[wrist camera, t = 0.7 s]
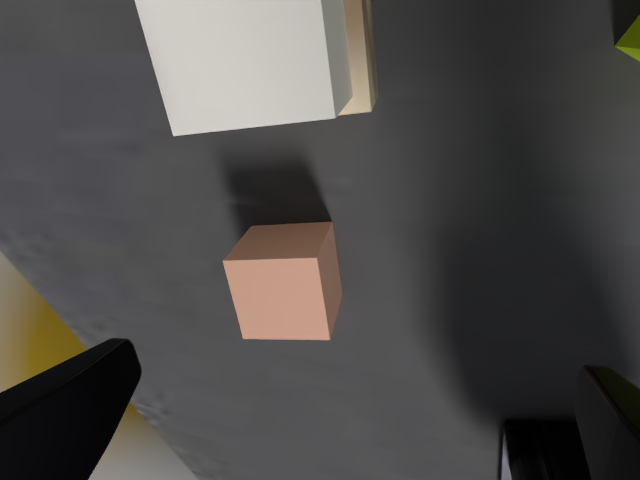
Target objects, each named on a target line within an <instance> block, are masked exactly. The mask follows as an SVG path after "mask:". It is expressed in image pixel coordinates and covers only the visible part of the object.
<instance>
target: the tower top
mask: <svg viewBox="0 0 640 480" xmlns="http://www.w3.org/2000/svg"><path fill="white" fill-rule="evenodd" d="M135 3H136V7H137V10H138V14H139V17H140V21H141V24H142V28H143V31H144V35H145V38H146V42H147V46H148V49H149V53H150V56H151V60H152V63H153V67H154V70H155V74H156V77H157V81H158V84H159V88H160V91H161V95H162V98H163V102H164V105H165V109H166V112H167V116H168V119H169V123H170V126H171V130H172V133H173V136H179V135H188V134H197V133H206V132H215V131H224V130H233V129H242V128H251V127H260V126H269V125H278V124H288V123H297V122H306V121H315V120H324V119H333V118H336V117H337V116H338V114H339V113H340V112H341V111H342V109H343V108H344V107H345V106H346V105H347V103H348V102H349V101H350V100H351V98H352V97H353V89H352V80H351V70H350V60H349V51H348V41H347V32H346V22H345V12H344V3H343V0H135Z"/></svg>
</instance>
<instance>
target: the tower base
mask: <svg viewBox="0 0 640 480" xmlns="http://www.w3.org/2000/svg"><path fill="white" fill-rule="evenodd" d="M343 3H344V12H345V22H346V32H347V41H348V51H349V60H350V70H351V80H352V89H353V97H352V98H351V100H350V101H349V102H348V103H347V105H346V106H345V107H344V108H343V109H342V111H341V112H340V113H339V114H338V115H346V114H355V113H364V112H371V111H372V109H373V107H374V105H375V103H376V100H377V98H378V84H377V71H376V58H375V46H374V33H373V20H372V8H371V0H343Z"/></svg>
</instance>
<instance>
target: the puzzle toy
mask: <svg viewBox="0 0 640 480" xmlns="http://www.w3.org/2000/svg"><path fill="white" fill-rule="evenodd" d="M615 47H616V48H618V49H620V50H621V51H623V52H625V53H626V54H628V55H630V56H631V57H633V58H634V59H636V60H638V61H639V62H640V15H639V16H638V17H637V19H636V20H635V21H634V22H633V24H632V25H631V26H630V27H629V29H628V30H627V31H626V32H625V34H624V35H623V36H622V37H621V39H620V40H619V41H618V42H617V44H616V45H615Z"/></svg>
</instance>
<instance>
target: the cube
mask: <svg viewBox="0 0 640 480" xmlns="http://www.w3.org/2000/svg"><path fill="white" fill-rule="evenodd" d="M223 264H224V267H225V271H226V275H227V279H228V283H229V286H230V290H231V294H232V298H233V302H234V305H235V309H236V313H237V317H238V320H239V324H240V328H241V332H242V336H243V339H289V340H330V339H331V335H332V331H333V328H334V324H335V320H336V317H337V313H338V309H339V305H340V302H341V298H342V288H341V281H340V274H339V267H338V259H337V252H336V245H335V238H334V231H333V223H332V222H315V223H296V224H278V225H259V226H251V227H250V228H249V229H248V231H247V232H246V233H245V234H244V236H243V237H242V238H241V239H240V240H239V242H238V243H237V244H236V245H235V246H234V248H233V249H232V250H231V251H230V253H229V254H228V255H227V256H226V257H225V259H224V260H223Z"/></svg>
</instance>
